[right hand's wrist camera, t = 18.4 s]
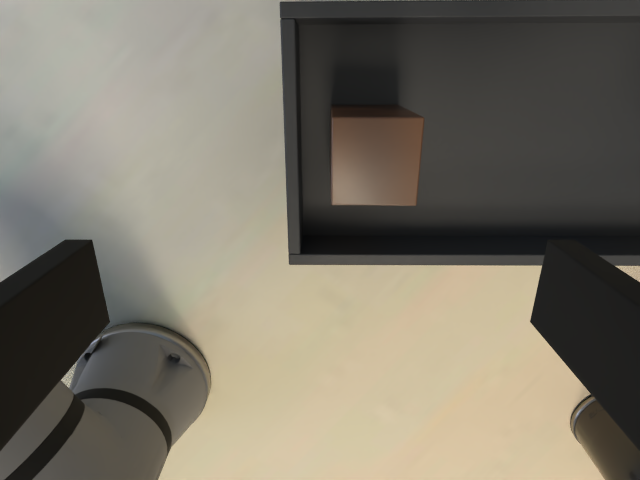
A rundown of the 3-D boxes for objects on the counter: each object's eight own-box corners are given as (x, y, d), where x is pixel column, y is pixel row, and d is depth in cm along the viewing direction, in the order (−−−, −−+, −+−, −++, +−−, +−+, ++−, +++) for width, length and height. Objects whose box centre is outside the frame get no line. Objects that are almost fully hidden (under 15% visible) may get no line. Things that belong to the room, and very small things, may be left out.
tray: (748, 241, 32) (947, 323, 22) (293, 241, 32) (278, 319, 22) (843, 8, 26) (1178, -33, 16) (286, 11, 26) (261, -25, 16)
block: (398, 104, 28) (424, 117, 20) (394, 171, 29) (416, 206, 22) (330, 104, 28) (331, 116, 20) (329, 171, 29) (330, 205, 22)
